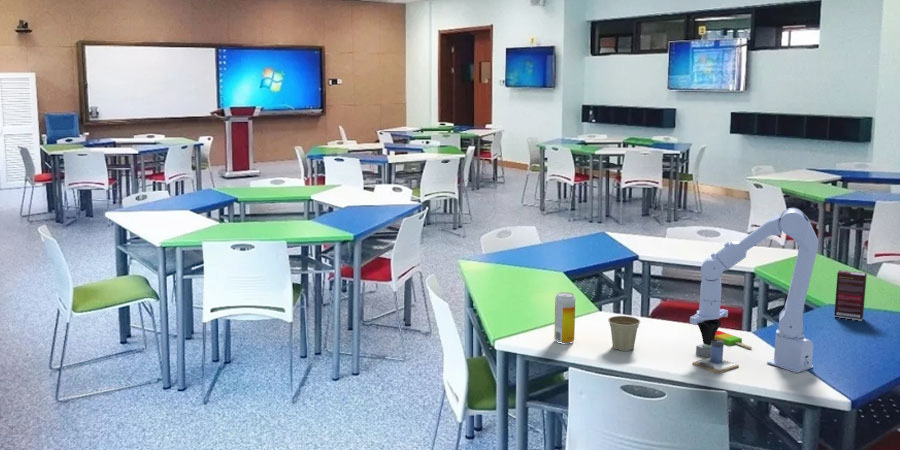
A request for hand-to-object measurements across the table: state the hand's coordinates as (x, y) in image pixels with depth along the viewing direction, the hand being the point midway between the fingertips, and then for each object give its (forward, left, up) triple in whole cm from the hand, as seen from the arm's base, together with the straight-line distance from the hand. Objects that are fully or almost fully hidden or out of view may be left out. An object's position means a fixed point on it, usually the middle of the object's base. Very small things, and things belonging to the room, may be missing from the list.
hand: (707, 343), depth 225 cm
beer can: (+32, +27, -3) cm, 42 cm away
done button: (0, 0, -2) cm, 2 cm away
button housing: (0, 0, -3) cm, 3 cm away
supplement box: (-3, -69, -3) cm, 69 cm away
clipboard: (-7, +6, -3) cm, 10 cm away
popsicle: (+3, -15, -4) cm, 16 cm away
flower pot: (+18, +16, -3) cm, 24 cm away
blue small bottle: (-7, +5, -2) cm, 9 cm away
